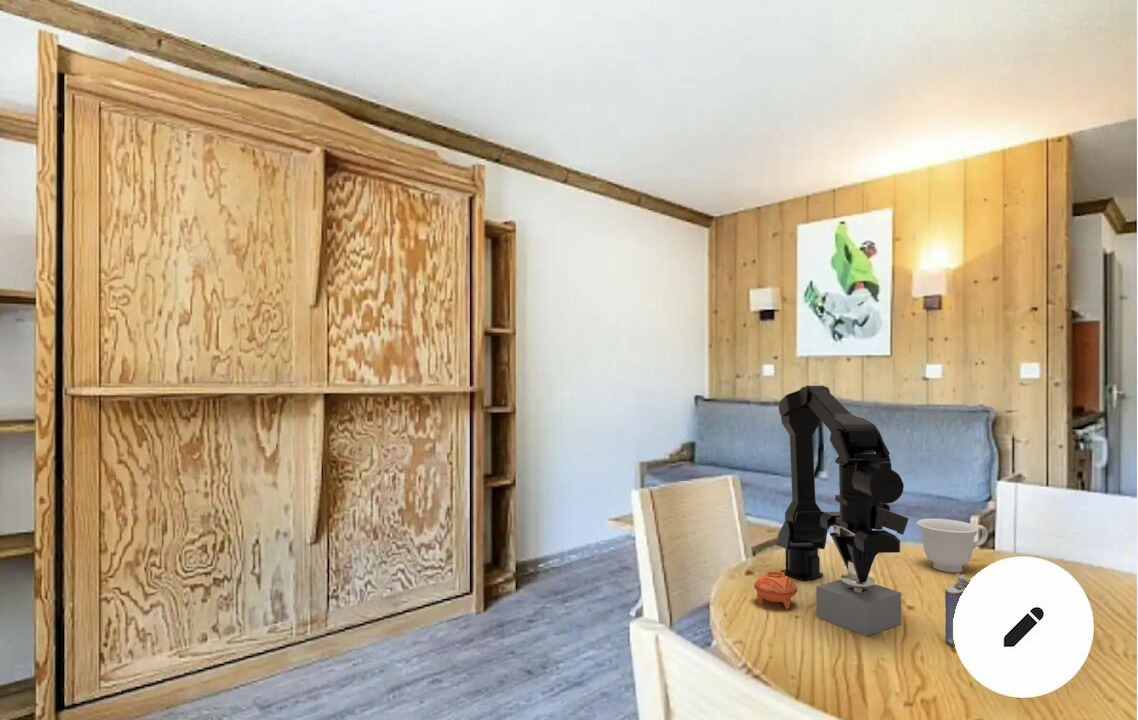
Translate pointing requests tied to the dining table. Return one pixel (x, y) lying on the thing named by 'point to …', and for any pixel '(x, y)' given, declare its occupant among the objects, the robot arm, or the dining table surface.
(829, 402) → the robot arm
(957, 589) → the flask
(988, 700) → the dining table surface
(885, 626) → the box
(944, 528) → the teacup
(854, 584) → the plunger
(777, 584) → the pot
